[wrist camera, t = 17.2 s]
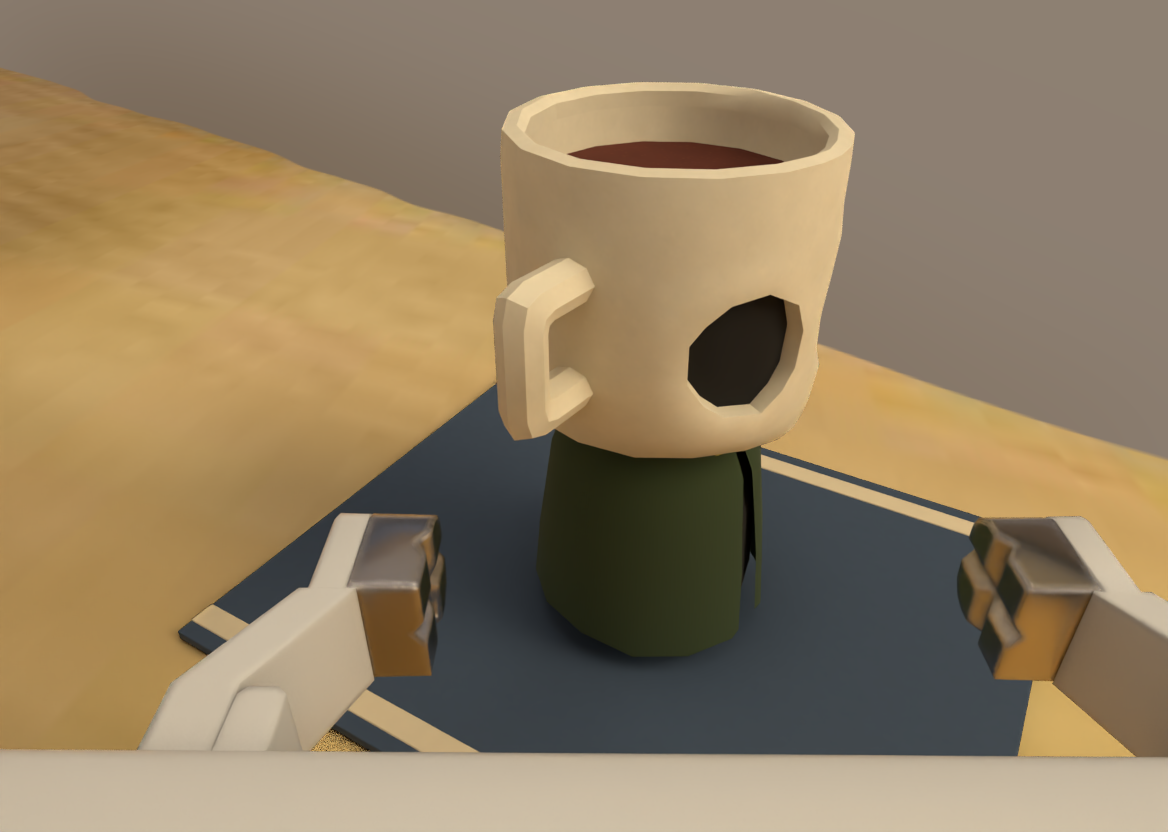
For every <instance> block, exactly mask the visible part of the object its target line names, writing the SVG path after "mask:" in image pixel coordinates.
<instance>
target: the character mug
mask: <svg viewBox="0 0 1168 832" xmlns="http://www.w3.org/2000/svg"><path fill="white" fill-rule="evenodd" d="M854 136H855V132H854V131H853V130H852V129H851V128H850V127H849V126H848V125H847V124H846V123H845V122H844V121H843V119H842V118H841V117H840V116H838V115H836V114H834V113H831V112H829V111H827V110H825V109H822V108H820V107H818V106H816V105H813V104H811V103H809V102H806V101H804V100H799V99H796V98H791V97H787V96H783V95H779V94H774V93H770V92H766V91H762V90H758V89H750V88H740V87H732V86H723V85H714V84H704V83H668V82H667V83H665V82H663V83H662V82H637V83H624V84H611V85H600V86H586V87H581V88H576V89H572V90H567V91H562V92H558V93H553V94H548V95H544V96H539V97H537V98H535V99H533V100H531V101H529V102H527V103H525V104H523V105H521V106H519V107H517V108H515V109H512V110H510V111H509V113H508V116H507V118H506V120H505V122H504V125H503V127H502V130H501V153H500V159H501V177H502V198H503V217H504V237H505V256H506V275H507V287H506V288H505V289H504V290H503V291H502V292H501V294H500V295H499V296H498V297H497V299H496V305H495V311H494V318H493V330H494V346H495V362H496V378H497V393H498V409H499V413H500V416H501V418H502V421H503V423H504V426H505V427H506V429H507V430H508V432H509V433H510V435H511V436H512V438H513V439H514V441H515V440H523V439H531V438H536V437H539V436H543V435H546V434H548V433H549V432H550V431H552V430H553V429H555V432H554V434H553V437H552V441H551V448H550V455H549V462H548V469H547V475H546V482H545V489H544V496H543V503H542V509H541V516H540V526H539V538H538V550H537V562H536V571H537V574H538V577H539V580H540V583H541V586H542V589H543V592H544V595H545V598H546V601H547V602H548V603H549V604H550V605H551V606H552V607H553V608H555V609H556V610H557V611H558V612H559V613H560V614H561V615H562V616H563V617H565V618H566V619H567V620H568V621H569V622H570V623H571V624H572V625H573V626H574V627H576V628H577V629H578V630H579V631H580V632H581V633H583V634H585V635H588V636H590V637H592V638H594V639H596V640H598V641H600V642H602V643H604V644H606V645H609V646H611V647H613V648H615V649H617V650H619V651H621V652H623V653H625V654H627V655H630V656H632V657H671V656H690V655H692V654H695V653H697V652H700V651H702V650H705V649H707V648H710V647H712V646H715V645H717V644H720V643H722V642H725V641H727V640H730V639H732V638H733V636H734V635H735V634H736V632H737V631H738V630H739V613H740V597H741V586H742V583H743V579H744V576H745V573H746V569H747V566H748V562H749V559H750V552H751V554H752V556H753V557H754V559H755V561H756V572H755V607H754V609H755V608H756V607H757V606H758V605H759V603H760V600H761V565H762V517H763V514H762V476H761V445H763V444H766V443H769V442H772V441H775V440H777V439H779V438H780V437H781V436H783V435H784V434H785V433H787V432H788V431H790V430H791V429H792V428H793V427H794V425H795V424H796V422H797V420H798V419H799V417H800V416H801V414H802V412H803V410H804V407H805V405H806V403H807V401H808V399H809V396H810V393H811V389H812V386H813V383H814V380H815V376H816V373H817V370H818V367H819V360H818V354H817V349H816V347H817V339H818V332H819V325H820V317H821V313H822V309H823V305H824V301H825V298H826V294H827V290H828V286H829V283H830V279H831V275H832V271H833V267H834V263H835V259H836V255H837V251H838V247H839V243H840V239H841V235H842V222H843V221H842V220H843V209H844V200H845V194H846V189H847V183H848V177H849V171H850V166H851V160H852V153H853V145H854V144H853V143H854Z"/></svg>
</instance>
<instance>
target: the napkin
mask: <svg viewBox="0 0 1168 832" xmlns="http://www.w3.org/2000/svg"><path fill="white" fill-rule="evenodd" d="M554 432H555V429H553V430H552V431H550V432H549V433H548V434H546V435H543V436H539V437H536V438H531V439H523V440H515V441H514V439H513V438H512V436H511V435H510V433H509V432H508V430H507V429H506V427H505V426H504V423H503V421H502V418H501V416H500V413H499V409H498V393H497V383H496V384H495V385H494V386H493V387H491V388H490V389H489V390H487V391H486V392H485V393H484V394H482V395H481V396H480V397H478V398H477V399H476V400H475V401H473V402H472V403H471V404H469V405H468V406H467V407H466V408H464V409H463V410H462V411H460V412H459V413H458V414H457V415H455V416H454V417H453V418H451V419H450V420H449V421H448V422H446V423H445V424H444V425H442V426H441V427H440V428H439V429H437V430H436V431H435V432H433V433H432V434H431V435H430V436H428V437H427V438H426V439H424V440H423V441H422V442H421V443H419V444H418V445H417V446H415V447H414V448H413V449H412V450H410V451H409V452H408V453H406V454H405V455H404V456H403V457H401V458H400V459H399V460H397V461H396V462H395V463H394V464H392V465H391V466H390V467H388V468H387V469H386V470H385V471H383V472H382V473H381V474H379V475H378V476H377V477H376V478H374V479H373V480H372V481H370V482H369V483H368V484H367V485H365V486H364V487H363V488H361V489H360V490H359V491H358V492H356V493H355V494H354V495H352V496H351V497H350V498H349V499H347V500H346V501H345V502H343V503H342V504H341V505H340V506H338V507H337V508H336V509H334V510H333V511H332V512H331V513H329V514H328V515H327V516H325V517H324V518H323V519H322V520H320V521H319V522H318V523H316V524H315V525H314V526H313V527H311V528H310V529H309V530H307V531H306V532H305V533H304V534H302V535H301V536H300V537H298V538H297V539H296V540H295V541H293V542H292V543H291V544H289V545H288V546H287V547H286V548H284V549H283V550H282V551H280V552H279V553H278V554H277V555H275V556H274V557H273V558H271V559H270V560H269V561H268V562H266V563H265V564H264V565H262V566H261V567H260V568H259V569H257V570H256V571H255V572H253V573H252V574H251V575H250V576H248V577H247V578H246V579H244V580H243V581H242V582H241V583H239V584H238V585H237V586H235V587H234V588H233V589H232V590H230V591H229V592H228V593H226V594H225V595H224V596H223V597H221V598H220V599H219V600H217V601H216V602H215V603H214V604H211V605H209V606H208V607H207V608H206V609H204V610H203V611H202V612H200V613H199V614H198V615H197V616H195V617H194V618H193V619H192V621H190V622H189V623H188V624H187V625H185V626H184V627H183V628H181V629H180V630H179V631H178V633H179V636H180V638H181V639H182V640H184V641H186V642H187V643H189V644H191V645H192V646H194V647H196V648H197V649H199V650H201V651H203V652H204V653H206V654H208V655H209V654H210V653H212V652H213V651H214V650H216V649H217V648H218V647H220V646H221V645H222V644H224V643H225V642H227V641H228V640H229V639H231V638H232V637H233V636H235V635H236V634H237V633H239V632H240V631H241V630H243V629H244V628H245V627H247V626H248V625H249V624H251V623H252V622H253V621H255V620H256V619H257V618H259V617H260V616H261V615H263V614H264V613H266V612H267V611H268V610H270V609H271V608H272V607H274V606H275V605H276V604H278V603H279V602H280V601H282V600H283V599H284V598H286V597H287V596H288V595H290V594H291V593H292V592H294V591H295V590H296V589H298V588H308V587H309V584H310V582H311V579H312V577H313V574H314V571H315V569H316V566H317V564H318V561H319V558H320V556H321V553H322V551H323V548H324V546H325V543H326V540H327V538H328V535H329V533H330V530H331V527H332V525H333V522H334V520H335V519H336V517H337V516H338V515H339V514H340V513H356V514H373V513H377V514H414V515H437V516H438V517H439V519H440V524H441V531H442V539H441V544H440V549H439V552H440V553H441V554H442V555H443V556H444V557H445V562H446V577H447V587H446V601H445V608H444V614H443V618H442V619H441V620H440V621H439V622H438V623H437V624H436V627H437V635H438V645H437V650H436V655H435V660H434V664H433V669H432V674H431V676H394V677H374V681H373V682H372V683H371V684H370V686H369V687H368V688H367V689H366V690H365V691H364V692H363V693H362V694H361V696H360V697H359V698H358V699H357V700H356V701H355V702H354V703H353V704H352V705H351V707H350V708H349V709H348V710H347V711H346V712H345V713H344V714H343V715H342V717H341V718H340V719H339V720H338V721H337V722H336V723H335V724H334V725H333V726H332V729H334V730H336V731H338V732H339V733H341V734H343V735H344V736H346V737H348V738H349V739H351V740H353V741H354V742H356V743H358V744H359V745H361V746H363V747H365V748H366V749H368V750H370V751H371V752H481V753H629V754H791V755H921V756H1018V751H1019V746H1020V741H1021V736H1022V731H1023V726H1024V720H1025V715H1026V710H1027V705H1028V700H1029V695H1030V690H1031V685H1032V680H1004V679H994V677H993V675H992V673H991V671H990V669H989V667H988V665H987V663H986V661H985V659H984V657H983V655H982V652H981V650H980V648H979V646H978V644H977V643H978V641H979V638H980V635H981V631H980V630H978V629H977V628H975V627H974V626H973V625H971V624H970V623H969V622H967V621H966V619H965V617H964V615H963V612H962V610H961V608H960V604H959V600H958V596H957V574H958V571H959V567H960V563H961V560H962V559H963V558H964V557H966V556H967V555H968V554H969V553H971V552H972V551H973V550H974V547H973V545H972V543H971V541H970V539H969V535H970V532H971V529H972V526H973V524H974V523H975V522H976V521H977V520H978V518H982V517H979V516H976V515H973V514H969V513H966V512H963V511H960V510H957V509H954V508H951V507H947V506H944V505H941V504H938V503H935V502H932V501H928V500H925V499H922V498H919V497H916V496H913V495H910V494H906V493H903V492H900V491H897V490H894V489H891V488H887V487H884V486H881V485H878V484H875V483H872V482H869V481H865V480H862V479H859V478H856V477H853V476H850V475H847V474H843V473H840V472H837V471H834V470H831V469H828V468H824V467H821V466H818V465H815V464H812V463H809V462H806V461H802V460H799V459H796V458H793V457H790V456H787V455H783V454H780V453H777V452H774V451H771V450H768V449H765V448H761V476H762V514H763V517H762V565H761V600H760V603H759V605H758V606H757V607H756V608H755V609H754V607H755V572H756V561H755V559H754V557H753V556H752V554H751V552H750V559H749V562H748V566H747V569H746V573H745V576H744V579H743V583H742V586H741V597H740V613H739V630H738V631H737V632H736V634H735V635H734V636H733V638H732V639H730V640H727V641H725V642H722V643H720V644H717V645H715V646H712V647H710V648H707V649H705V650H702V651H700V652H697V653H695V654H692V655H690V656H671V657H632V656H630V655H627V654H625V653H623V652H621V651H619V650H617V649H615V648H613V647H611V646H609V645H606V644H604V643H602V642H600V641H598V640H596V639H594V638H592V637H590V636H588V635H585V634H583V633H581V632H580V631H579V630H578V629H577V628H576V627H574V626H573V625H572V624H571V623H570V622H569V621H568V620H567V619H566V618H565V617H563V616H562V615H561V614H560V613H559V612H558V611H557V610H556V609H555V608H553V607H552V606H551V605H550V604H549V603H548V602H547V601H546V598H545V595H544V592H543V589H542V586H541V583H540V580H539V577H538V574H537V571H536V562H537V550H538V538H539V526H540V516H541V509H542V503H543V496H544V489H545V482H546V475H547V469H548V462H549V455H550V448H551V441H552V437H553V434H554Z"/></svg>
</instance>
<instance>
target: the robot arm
mask: <svg viewBox="0 0 1168 832" xmlns="http://www.w3.org/2000/svg"><path fill="white" fill-rule="evenodd" d="M441 539H442V531H441V524H440V519H439V517H438V516H437V515H414V514H377V513H373V514H356V513H340V514H339V515H338V516H337V517H336V519H335V520H334V522H333V525H332V527H331V530H330V533H329V535H328V538H327V540H326V543H325V546H324V548H323V551H322V553H321V556H320V558H319V561H318V564H317V566H316V569H315V571H314V574H313V577H312V579H311V582H310V584H309V587H308V588H298V589H296V590H295V591H294V592H292V593H291V594H290V595H288V596H287V597H286V598H284V599H283V600H282V601H280V602H279V603H278V604H276V605H275V606H274V607H272V608H271V609H270V610H268V611H267V612H266V613H264V614H263V615H261V616H260V617H259V618H257V619H256V620H255V621H253V622H252V623H251V624H249V625H248V626H247V627H245V628H244V629H243V630H241V631H240V632H239V633H237V634H236V635H235V636H233V637H232V638H231V639H229V640H228V641H227V642H225V643H224V644H222V645H221V646H220V647H218V648H217V649H216V650H214V651H213V652H212V653H210V654H209V655H208V656H206V657H205V658H204V659H202V660H201V661H200V662H198V663H197V664H196V665H194V666H193V667H192V668H190V669H189V670H188V671H186V672H185V673H183V674H182V675H181V676H179V677H178V678H177V679H175V680H174V681H173V682H171V684H170V686H169V688H168V690H167V691H166V693H165V695H164V697H163V699H162V701H161V703H160V705H159V707H158V709H157V711H156V713H155V715H154V717H153V719H152V721H151V723H150V725H149V727H148V729H147V731H146V733H145V735H144V737H143V739H142V741H141V743H140V745H139V747H138V749H137V750H61V749H0V832H1168V601H1166V600H1164V599H1162V598H1161V597H1159V596H1157V595H1156V594H1154V593H1152V592H1141V591H1140V590H1139V588H1138V587H1137V586H1136V584H1135V583H1134V582H1133V580H1132V579H1131V578H1130V576H1129V575H1128V574H1127V572H1126V571H1125V569H1124V568H1123V567H1122V565H1121V564H1120V563H1119V561H1118V560H1117V559H1116V557H1115V556H1114V555H1113V553H1112V552H1111V550H1110V549H1109V548H1108V546H1107V545H1106V544H1105V542H1104V541H1103V540H1102V538H1101V537H1100V536H1099V534H1098V533H1097V531H1096V530H1095V529H1094V527H1093V526H1092V525H1091V523H1090V522H1089V521H1088V520H1086V519H1085V518H1083V517H1081V516H1064V517H1046V518H1042V517H1041V518H978V520H977V521H976V522H975V523H974V524H973V526H972V529H971V532H970V535H969V539H970V541H971V543H972V545H973V547H974V550H973V551H972V552H971V553H969V554H968V555H967V556H966V557H964V558H963V559H962V560H961V563H960V567H959V571H958V574H957V596H958V600H959V604H960V608H961V610H962V612H963V615H964V617H965V619H966V621H967V622H969V623H970V624H971V625H973V626H974V627H975V628H977V629H978V630H980V631H981V635H980V638H979V641H978V643H977V644H978V646H979V648H980V650H981V652H982V655H983V657H984V659H985V661H986V663H987V665H988V667H989V669H990V671H991V673H992V675H993V677H994V679H1004V680H1035V681H1053V683H1052V684H1053V685H1055V686H1056V687H1057V688H1058V689H1059V690H1060V691H1061V692H1063V693H1064V694H1065V695H1066V696H1067V697H1068V698H1069V699H1071V700H1072V701H1073V702H1074V703H1075V704H1076V705H1077V706H1079V707H1080V708H1081V709H1082V710H1083V711H1084V712H1086V713H1087V714H1088V715H1089V716H1090V717H1091V718H1092V719H1094V720H1095V721H1096V722H1097V723H1098V724H1099V725H1100V726H1102V727H1103V728H1104V729H1105V730H1106V731H1107V732H1108V733H1110V734H1111V735H1112V736H1113V737H1114V738H1115V739H1117V740H1118V741H1119V742H1120V743H1121V744H1122V745H1123V746H1125V747H1126V748H1127V749H1128V750H1129V751H1130V752H1131V753H1133V754H1134V755H1135V756H1136V757H1054V756H921V755H791V754H629V753H481V752H333V751H311V750H312V749H313V747H314V746H315V745H316V744H317V743H318V742H319V741H320V740H321V739H322V738H323V736H324V735H325V734H326V733H327V732H328V731H329V730H330V729H331V728H332V726H333V725H334V724H335V723H336V722H337V721H338V720H339V719H340V718H341V717H342V715H343V714H344V713H345V712H346V711H347V710H348V709H349V708H350V707H351V705H352V704H353V703H354V702H355V701H356V700H357V699H358V698H359V697H360V696H361V694H362V693H363V692H364V691H365V690H366V689H367V688H368V687H369V686H370V684H371V683H372V682H373V681H374V677H394V676H431V674H432V669H433V664H434V660H435V655H436V650H437V645H438V635H437V627H436V624H437V623H438V622H439V621H440V620H441V619H442V618H443V614H444V608H445V601H446V587H447V577H446V562H445V557H444V556H443V555H442V554H441V553H440V552H439V549H440V544H441Z"/></svg>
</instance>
